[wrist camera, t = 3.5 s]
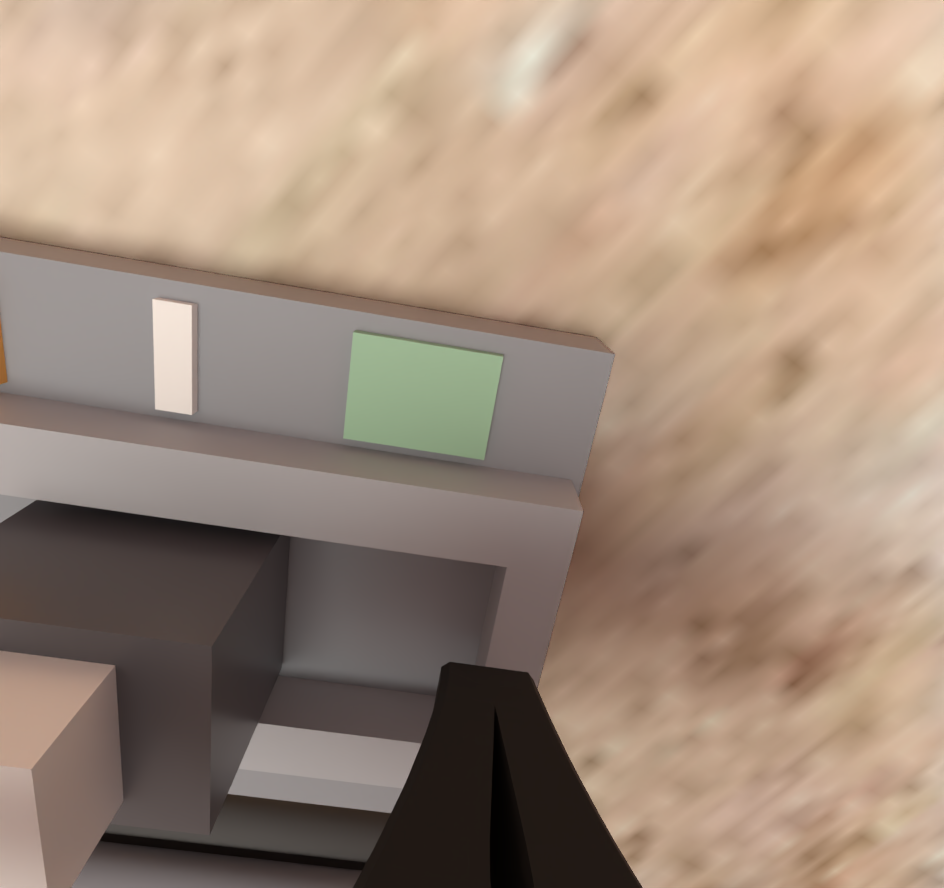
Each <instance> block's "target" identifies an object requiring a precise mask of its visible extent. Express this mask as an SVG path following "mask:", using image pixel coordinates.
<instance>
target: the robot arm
mask: <svg viewBox="0 0 944 888" xmlns="http://www.w3.org/2000/svg"><path fill="white" fill-rule="evenodd" d="M353 888H642V886H641V884H640V883H639V881H638V880H637V878H636V876H635V875H634V873H633V871H632V870H631V868H630V866H629V865H628V863H627V861H626V860H625V858H624V856H623V855H622V853H621V851H620V850H619V848H618V846H617V845H616V843H615V841H614V839H613V838H612V836H611V834H610V832H609V831H608V829H607V827H606V825H605V824H604V822H603V820H602V818H601V817H600V815H599V813H598V811H597V809H596V807H595V805H594V804H593V802H592V800H591V798H590V796H589V794H588V792H587V791H586V789H585V787H584V785H583V783H582V781H581V779H580V778H579V776H578V774H577V772H576V770H575V768H574V766H573V764H572V762H571V760H570V758H569V756H568V754H567V752H566V750H565V748H564V746H563V744H562V742H561V740H560V738H559V736H558V734H557V732H556V729H555V727H554V725H553V723H552V721H551V719H550V717H549V714H548V712H547V710H546V708H545V706H544V703H543V701H542V699H541V696H540V694H539V692H538V689H537V687H536V685H535V682H534V680H533V678H532V677H531V676H530V674H529V673H528V672H522V671H515V670H507V669H500V668H493V667H485V666H478V665H471V664H463V663H456V662H449V663H447V664H445V665H443V666H442V667H441V671H440V676H439V682H438V687H437V692H436V698H435V703H434V708H433V712H432V715H431V718H430V721H429V724H428V727H427V730H426V733H425V736H424V738H423V741H422V743H421V746H420V748H419V751H418V753H417V756H416V758H415V761H414V763H413V766H412V768H411V771H410V773H409V776H408V778H407V780H406V783H405V785H404V787H403V789H402V791H401V793H400V796H399V798H398V800H397V802H396V804H395V806H394V808H393V810H392V812H391V814H390V816H389V818H388V820H387V822H386V825H385V827H384V829H383V831H382V833H381V835H380V837H379V839H378V841H377V843H376V845H375V847H374V849H373V851H372V853H371V855H370V857H369V858H368V860H367V862H366V864H365V866H364V868H363V870H362V872H361V873H360V875H359V877H358V879H357V881H356V883H355V884H354V886H353Z"/></svg>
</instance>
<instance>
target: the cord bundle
mask: <svg viewBox="0 0 944 888" xmlns="http://www.w3.org/2000/svg"><path fill="white" fill-rule="evenodd" d="M390 814H391V813H386V812H378V811H369V810H361V809H352V808H344V807H335V806H327V805H318V804H310V803H301V802H293V801H284V800H276V799H267V798H259V797H251V796H242V795H234V794H227V796H226V799H225V801H224V803H223V806H222V808H221V810H220V813H219V815H218V817H217V820H216V822H215V824H214V827H213V829H212V831H211V834H210V835H203V834H194V833H186V832H177V831H168V830H159V829H151V828H142V827H133V826H124V825H115V824H109V826H108V827H107V829H106V831H105V832H104V834H103V836H102V837H101V839H100V840H99V842H98V844H97V845H96V847H95V849H94V850H93V852H92V854H91V855H90V857H89V859H88V860H87V862H86V864H85V865H84V867H83V869H82V870H81V872H80V874H79V875H78V877H77V879H76V880H75V882H74V883H73V885H72V887H71V888H353V886H354V884H355V883H356V881H357V879H358V877H359V875H360V873H361V872H362V870H363V868H364V866H365V864H366V862H367V860H368V858H369V857H370V855H371V853H372V851H373V849H374V847H375V845H376V843H377V841H378V839H379V837H380V835H381V833H382V831H383V829H384V827H385V825H386V822H387V820H388V818H389V816H390Z"/></svg>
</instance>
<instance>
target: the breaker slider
mask: <svg viewBox="0 0 944 888" xmlns="http://www.w3.org/2000/svg"><path fill="white" fill-rule="evenodd" d="M289 546H290V536H286V535H279V534H272V533H265V532H258V531H251V530H244V529H237V528H230V527H223V526H216V525H210V524H203V523H196V522H189V521H182V520H175V519H168V518H161V517H154V516H147V515H140V514H133V513H126V512H119V511H112V510H105V509H98V508H91V507H85V506H78V505H71V504H64V503H57V502H50V501H43V500H36V501H34V502H32V503H31V504H29V505H28V506H26V507H25V508H23V509H21V510H20V511H18V512H17V513H15V514H14V515H12V516H10V517H9V518H7V519H6V520H4V521H2V522H1V523H0V888H71V887H72V885H73V883H74V882H75V880H76V879H77V877H78V875H79V874H80V872H81V870H82V869H83V867H84V865H85V864H86V862H87V860H88V859H89V857H90V855H91V854H92V852H93V850H94V849H95V847H96V845H97V844H98V842H99V840H100V839H101V837H102V836H103V834H104V832H105V831H106V829H107V827H108V826H109V824H115V825H124V826H133V827H142V828H151V829H159V830H168V831H177V832H186V833H194V834H203V835H210V834H211V831H212V829H213V827H214V824H215V822H216V820H217V817H218V815H219V813H220V810H221V808H222V806H223V803H224V801H225V799H226V796H227V794H228V792H229V789H230V787H231V785H232V782H233V780H234V778H235V775H236V773H237V771H238V768H239V766H240V764H241V761H242V759H243V757H244V754H245V752H246V750H247V747H248V745H249V743H250V740H251V738H252V736H253V733H254V731H255V729H256V726H257V724H258V722H259V720H260V717H261V715H262V713H263V710H264V708H265V706H266V703H267V701H268V699H269V696H270V694H271V692H272V689H273V687H274V685H275V682H276V680H277V678H278V675H279V673H280V671H281V668H282V655H283V639H284V624H285V608H286V592H287V577H288V561H289Z"/></svg>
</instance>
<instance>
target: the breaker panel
mask: <svg viewBox="0 0 944 888" xmlns="http://www.w3.org/2000/svg"><path fill="white" fill-rule="evenodd" d="M614 356H615V354H614V353H613V352H612V351H611V350H610V349H609V348H608V347H607V346H605V345H604V344H603V343H602V342H601V341H600V340H599V339H598V338H597V337H591V336H585V335H579V334H573V333H567V332H561V331H555V330H549V329H543V328H537V327H531V326H526V325H520V324H514V323H508V322H502V321H496V320H490V319H484V318H478V317H472V316H466V315H460V314H454V313H448V312H442V311H436V310H431V309H425V308H419V307H413V306H407V305H401V304H395V303H389V302H383V301H377V300H371V299H365V298H359V297H353V296H347V295H341V294H335V293H330V292H324V291H318V290H312V289H306V288H300V287H294V286H288V285H282V284H276V283H270V282H264V281H258V280H252V279H246V278H240V277H235V276H229V275H223V274H217V273H211V272H205V271H199V270H193V269H187V268H181V267H175V266H169V265H163V264H157V263H151V262H145V261H139V260H134V259H128V258H122V257H116V256H110V255H104V254H98V253H92V252H86V251H80V250H74V249H68V248H62V247H56V246H50V245H44V244H38V243H33V242H27V241H21V240H15V239H9V238H3V237H0V523H1V522H2V521H4V520H6V519H7V518H9V517H10V516H12V515H14V514H15V513H17V512H18V511H20V510H21V509H23V508H25V507H26V506H28V505H29V504H31V503H32V502H34V501H36V500H43V501H50V502H57V503H64V504H71V505H78V506H85V507H91V508H98V509H105V510H112V511H119V512H126V513H133V514H140V515H147V516H154V517H161V518H168V519H175V520H182V521H189V522H196V523H203V524H210V525H216V526H223V527H230V528H237V529H244V530H251V531H258V532H265V533H272V534H279V535H286V536H290V546H289V561H288V577H287V592H286V608H285V624H284V639H283V655H282V668H281V671H280V673H279V675H278V678H277V680H276V682H275V685H274V687H273V689H272V692H271V694H270V696H269V699H268V701H267V703H266V706H265V708H264V710H263V713H262V715H261V717H260V720H259V722H258V724H257V726H256V729H255V731H254V733H253V736H252V738H251V740H250V743H249V745H248V747H247V750H246V752H245V754H244V757H243V759H242V761H241V764H240V766H239V768H238V771H237V773H236V775H235V778H234V780H233V782H232V785H231V787H230V789H229V792H228V794H234V795H242V796H251V797H259V798H267V799H276V800H284V801H293V802H301V803H310V804H318V805H327V806H335V807H344V808H352V809H361V810H369V811H378V812H386V813H391V812H392V810H393V808H394V806H395V804H396V802H397V800H398V798H399V796H400V793H401V791H402V789H403V787H404V785H405V783H406V780H407V778H408V776H409V773H410V771H411V768H412V766H413V763H414V761H415V758H416V756H417V753H418V751H419V748H420V746H421V743H422V741H423V738H424V736H425V733H426V730H427V727H428V724H429V721H430V718H431V715H432V712H433V708H434V703H435V698H436V692H437V687H438V682H439V676H440V671H441V667H442V666H443V665H445V664H447V663H449V662H456V663H463V664H471V665H478V666H485V667H493V668H500V669H507V670H515V671H522V672H528V673H529V674H530V676H531V677H532V678H533V680H534V682H535V685H536V687H537V688H538V684H539V681H540V677H541V673H542V669H543V665H544V661H545V658H546V654H547V650H548V646H549V642H550V638H551V635H552V631H553V627H554V623H555V619H556V615H557V612H558V608H559V604H560V600H561V596H562V592H563V589H564V585H565V581H566V577H567V573H568V569H569V566H570V562H571V558H572V554H573V550H574V546H575V543H576V539H577V535H578V531H579V527H580V523H581V519H582V516H583V512H584V511H583V508H582V506H581V503H580V501H579V494H580V490H581V486H582V482H583V478H584V474H585V470H586V466H587V462H588V458H589V454H590V451H591V447H592V443H593V439H594V435H595V431H596V427H597V423H598V419H599V415H600V411H601V407H602V403H603V400H604V396H605V392H606V388H607V384H608V380H609V376H610V372H611V368H612V364H613V360H614Z"/></svg>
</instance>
